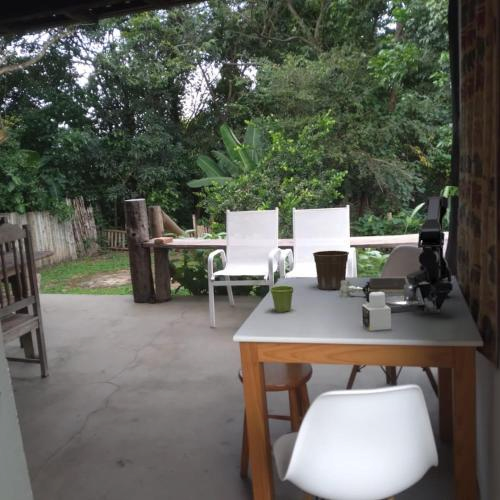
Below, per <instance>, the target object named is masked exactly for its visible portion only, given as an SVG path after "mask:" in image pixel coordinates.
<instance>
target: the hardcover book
mask: <svg viewBox="0 0 500 500" xmlns="http://www.w3.org/2000/svg"><path fill="white" fill-rule="evenodd" d="M368 282H369V283H370V287H371V289H370V291H371V290H380V291H383V292H385V293H404V285H407V281H406V277H382V278H381V277H377V278H376V277H371V278H370V279H369V281H368Z"/></svg>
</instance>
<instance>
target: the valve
mask: <svg viewBox="0 0 500 500" xmlns="http://www.w3.org/2000/svg"><path fill="white" fill-rule="evenodd" d="M369 282H370V281H366V284H365V285H364V286H362V287H361V286H357V287H356V286H355V285H351V282H350V280H348V279H345V280H342V281H341V287H340V289H339V290H340V296H341V298H350V297H351V293H353V294H354V293H355V292H363V294H364V295H365V296H366V293H367V292H368V291H370V289H371V287H370V283H369Z"/></svg>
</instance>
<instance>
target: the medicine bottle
mask: <svg viewBox="0 0 500 500" xmlns="http://www.w3.org/2000/svg"><path fill="white" fill-rule="evenodd" d="M365 293H366V295H365V299H366V302H365V304H362V305H361V306H362V307H361V308H362V309H361V313H362V325H363V327H364V328H365V329H367V330H368V331H369V332H374V331H384V330H387V331H388V330H391V329H392V313H391V308H390V307H388V306H387V305H385V304H386V298H387V297H386V292H383V291H380V290H371V291H368V292H365Z"/></svg>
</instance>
